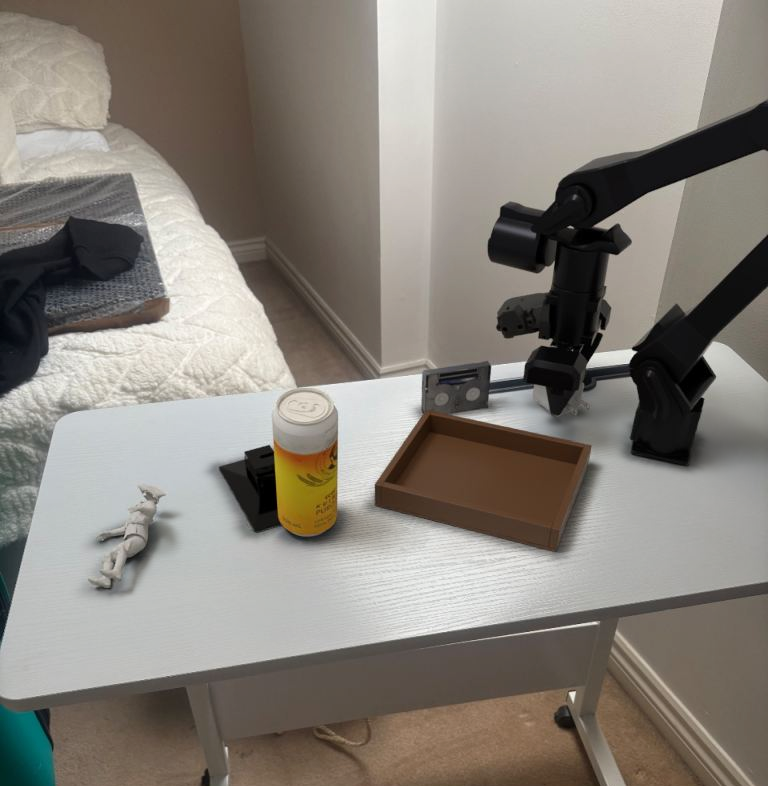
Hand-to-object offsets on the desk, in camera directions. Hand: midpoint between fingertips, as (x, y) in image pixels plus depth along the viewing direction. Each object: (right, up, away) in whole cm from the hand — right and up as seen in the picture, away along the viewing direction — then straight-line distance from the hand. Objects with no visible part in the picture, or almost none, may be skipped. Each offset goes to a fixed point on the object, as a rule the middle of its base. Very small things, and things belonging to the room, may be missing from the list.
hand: (560, 402), depth 102 cm
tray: (-11, -11, -11) cm, 18 cm away
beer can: (-30, -14, -15) cm, 36 cm away
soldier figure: (-47, -18, -19) cm, 53 cm away
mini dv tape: (-13, -1, +1) cm, 13 cm away
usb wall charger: (0, -1, 0) cm, 1 cm away
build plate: (-35, -11, -11) cm, 38 cm away
